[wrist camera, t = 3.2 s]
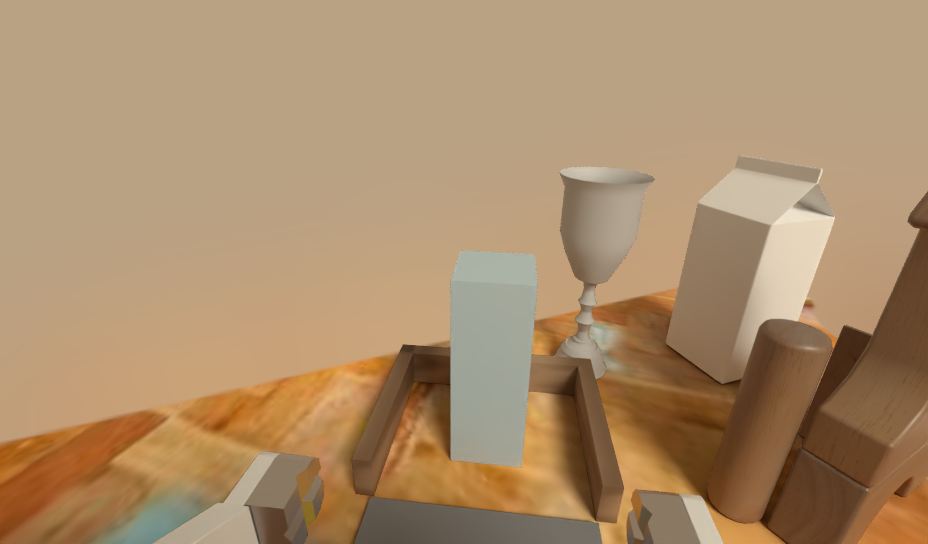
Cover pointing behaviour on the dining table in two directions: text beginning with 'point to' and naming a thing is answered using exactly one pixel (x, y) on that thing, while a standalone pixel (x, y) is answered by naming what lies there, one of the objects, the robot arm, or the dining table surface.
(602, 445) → the wooden rectangular frame
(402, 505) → the dark grey flat plate
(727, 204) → the milk carton
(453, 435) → the block
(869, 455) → the wooden toy
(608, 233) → the chalice
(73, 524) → the dining table surface
